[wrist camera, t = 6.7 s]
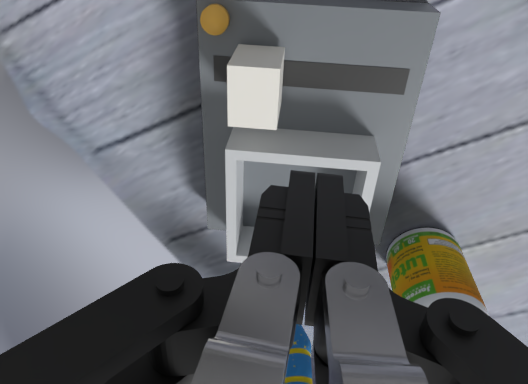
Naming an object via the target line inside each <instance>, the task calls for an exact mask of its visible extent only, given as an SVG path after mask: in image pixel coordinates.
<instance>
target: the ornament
mask: <svg viewBox="0 0 528 384" xmlns="http://www.w3.org/2000/svg"><path fill="white" fill-rule="evenodd" d="M310 355H311V343H310V340H309V338H308V336H307V334H306V333H305V331H304V329H303V327H302V326H301V325H299V324H296V330H295V336H294V342H293V345H292V347H291V349H290V352H289V358H288V364H287V370H286V377H285V383H284V384H312V367H311V357H310Z"/></svg>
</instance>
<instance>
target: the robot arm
mask: <svg viewBox="0 0 528 384" xmlns="http://www.w3.org/2000/svg"><path fill="white" fill-rule="evenodd" d="M371 230H372V228H371V221H370V214H369V207H368V205H367V204H366V202H365V201H364V200H363V199H362V197H361V196H360V195H359V194H351V193H344V185H343V176H342V175H335V174H325V173H317V177H316V183H315V172H305V171H296V170H291V171H290V179H289V187H285V186H276V185H270V186H269V187H268V188H267V189H266V190H265V191H264V192H263V193H262V194H261V198H260V203H259V209H258V212H257V218H256V222H255V226H254V231H253V235H252V240H251V245H250V249H249V254H248V257H247V258H246V259H245V260H244V261H243V262H242V264H241V265H240V267H239V268H238V269H237V270H235V271H234V272H231V273H229V274H226V275H222V276H217V277H210V278H202V277H201V276H200V274H199V273H198V272H197V271H196V270H195V269H194V268H192V267H190V266H188V265H185V264H180V263H170V264H164V265H160V266H157V267H155V268H153V269H151V270H149V271H148V272H146V273H144V274H142V275H140V276H139V277H137V278H135V279H133V280H132V281H130V282H128V283H126V284H125V285H123V286H121V287H119V288H118V289H116V290H114V291H112V292H111V293H109V294H107V295H105V296H103V297H102V298H100V299H98V300H96V301H95V302H93V303H91V304H89V305H88V306H86V307H84V308H82V309H80V310H79V311H77V312H75V313H73V314H71V315H70V316H68V317H66V318H64V319H63V320H61V321H59V322H57V323H56V324H54V325H52V326H50V327H49V328H47V329H45V330H43V331H41V332H40V333H38V334H36V335H34V336H33V337H31V338H29V339H27V340H25V341H24V342H22V343H20V344H18V345H17V346H15V347H13V348H11V349H10V350H8V351H6V352H4V353H2V354H1V355H0V384H284V383H285V377H286V370H287V364H288V358H289V352H290V349H291V347H292V345H293V342H294V336H295V330H296V324H299V325H302V321H303V315H304V309H305V325H308V326H314V340H313V345H312V350H311V367H312V384H528V347H527V346H526V345H524V344H523V343H522V342H521V341H519V340H518V339H517V338H516V337H514V336H513V335H512V334H511V333H510V332H508V331H507V330H506V329H505V328H503V327H502V326H501V325H500V324H498V323H497V322H496V321H495V320H493V319H492V318H491V317H490V316H488V315H487V314H486V313H485V312H483V311H482V310H481V309H479V308H478V307H476V306H475V305H473V304H471V303H469V302H466V301H463V300H460V299H455V298H442V299H438V300H436V301H434V302H432V303H431V304H430V306H429V307H425V306H423V305H420V304H418V303H415V302H412V301H410V300H407V299H405V298H403V297H401V296H399V295H397V294H396V293H394V292H393V291H391V290H390V289H389V288H388V285H387V282H386V280H385V279H384V278H383V276H382V275H381V274H380V273H379V272H378V269H377V262H376V255H375V248H374V241H373V235H372V232H371ZM305 302H306V305H305Z"/></svg>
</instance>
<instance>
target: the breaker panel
mask: <svg viewBox="0 0 528 384" xmlns="http://www.w3.org/2000/svg"><path fill="white" fill-rule="evenodd" d="M196 7H197V27H198V46H199V66H200V86H201V106H202V126H203V146H204V166H205V186H206V205H207V225H208V229H213V230H224V231H226V233H227V261H228V262H238V263H242V262H243V261H244V260H245V259H246V258H247V257H248V254H249V249H250V245H251V240H252V235H253V231H254V226H255V222H256V218H257V212H258V209H259V203H260V198H261V194H262V193H263V192H264V191H265V190H266V189H267V188H268V187H269V186H270V185H276V186H285V187H289V179H290V171H291V170H296V171H305V172H315V183H316V177H317V173H325V174H335V175H342V176H343V185H344V193H351V194H359V195H360V196H361V197H362V199H363V200H364V201H365V202H366V204H367V205H368V207H369V214H370V221H371V228H372V230H371V232H372V235H373V241H374V245H380V242H381V238H382V234H383V230H384V226H385V223H386V219H387V215H388V211H389V207H390V203H391V200H392V196H393V192H394V188H395V184H396V181H397V177H398V173H399V169H400V165H401V162H402V158H403V154H404V150H405V146H406V143H407V139H408V135H409V131H410V127H411V124H412V120H413V116H414V112H415V108H416V105H417V101H418V97H419V93H420V89H421V85H422V82H423V78H424V74H425V70H426V66H427V63H428V59H429V55H430V51H431V47H432V44H433V40H434V36H435V32H436V28H437V25H438V21H439V17H440V12H439V11H438V10H437V9H435V8H434V7H433V6H432V5H431V4H429V3H419V2H403V1H386V0H196ZM238 44H245V45H260V46H275V47H285V54H284V69H283V84H282V99H281V107H280V113H279V119H278V125H277V130H267V129H255V128H242V127H230V126H228V111H227V64H228V62H229V61H230V59H231V57H232V55H233V53H234V52H235V50H236V48H237V46H238Z"/></svg>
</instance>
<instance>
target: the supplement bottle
mask: <svg viewBox="0 0 528 384" xmlns="http://www.w3.org/2000/svg"><path fill="white" fill-rule="evenodd" d="M386 260H387V267H388V272H389V276H390V282H391V286H392V291H393V292H394V293H396V294H397V295H399V296H401V297H403V298H405V299H407V300H410V301H412V302H415V303H418V304H420V305H423V306H425V307H429V306H430V304H431V303H432V302H434V301H436V300H438V299H442V298H455V299H460V300H463V301H466V302H469V303H471V304H473V305H475V306H476V307H478V308H479V309H481V310H482V311H483V312H485V313H486V314H487V315H488V312H487V309H486V307H485V304H484V302H483V300H482V298H481V295H480V293H479V291H478V288H477V286H476V284H475V281H474V279H473V277H472V274H471V272H470V270H469V267H468V265H467V263H466V260H465V257H464V255H463V253H462V250H461V248H460V246H459V244H458V242H457V241H456V239H455V238H454V237H453V236H451V235H450V234H448V233H447V232H445V231H442V230H439V229H435V228H418V229H413V230H410V231H407V232H405V233H403V234H401V235H400V236H398V237H397V238H396V239H395V240H394V241H393V242H392V243H391V245H390V246H389V248H388V251H387V256H386ZM488 316H489V315H488Z"/></svg>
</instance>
